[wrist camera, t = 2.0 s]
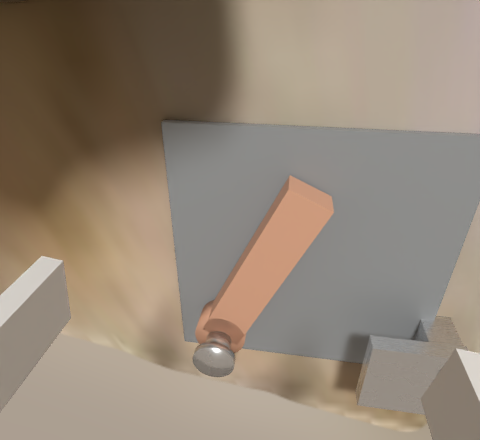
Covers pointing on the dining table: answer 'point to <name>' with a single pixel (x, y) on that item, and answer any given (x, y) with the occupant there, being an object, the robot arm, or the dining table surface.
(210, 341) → the silver metal knob
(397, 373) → the block
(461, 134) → the base board
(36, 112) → the dining table surface
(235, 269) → the link
